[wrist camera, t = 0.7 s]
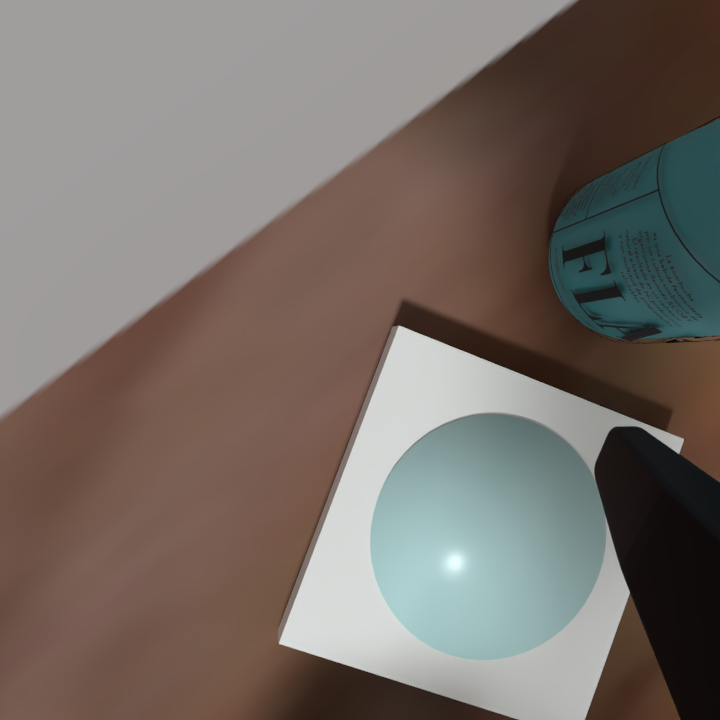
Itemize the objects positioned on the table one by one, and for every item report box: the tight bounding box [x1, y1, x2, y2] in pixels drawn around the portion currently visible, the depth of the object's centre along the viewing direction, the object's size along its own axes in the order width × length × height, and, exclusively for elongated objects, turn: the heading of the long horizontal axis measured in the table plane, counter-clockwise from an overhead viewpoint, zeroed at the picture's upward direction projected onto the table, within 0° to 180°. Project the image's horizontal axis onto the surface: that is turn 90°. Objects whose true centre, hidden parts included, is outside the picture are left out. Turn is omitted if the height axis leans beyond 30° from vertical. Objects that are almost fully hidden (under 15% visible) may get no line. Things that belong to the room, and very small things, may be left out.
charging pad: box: [278, 326, 684, 720], centre depth 25 cm, size 12×12×1 cm
